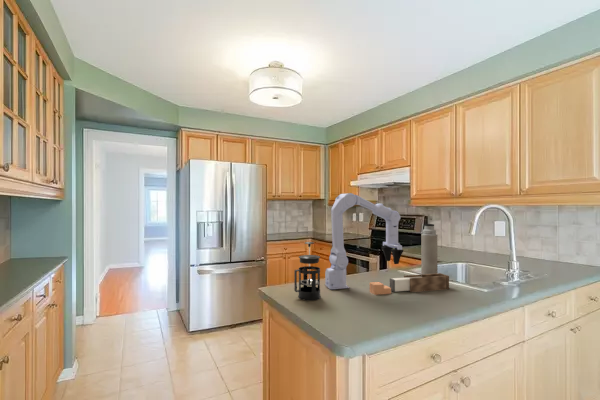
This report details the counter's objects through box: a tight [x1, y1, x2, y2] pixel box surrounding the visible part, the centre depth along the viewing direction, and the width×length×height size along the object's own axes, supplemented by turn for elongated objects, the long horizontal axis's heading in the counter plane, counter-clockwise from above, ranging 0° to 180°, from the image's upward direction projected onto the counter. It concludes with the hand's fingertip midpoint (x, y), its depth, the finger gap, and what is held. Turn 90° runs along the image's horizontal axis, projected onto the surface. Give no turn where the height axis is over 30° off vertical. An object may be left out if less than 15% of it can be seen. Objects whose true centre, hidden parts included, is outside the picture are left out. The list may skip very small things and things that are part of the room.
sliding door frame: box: [403, 272, 450, 293], centre depth 140 cm, size 20×6×6 cm, turn 104°
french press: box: [293, 241, 321, 302], centre depth 128 cm, size 12×9×23 cm
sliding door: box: [389, 277, 418, 293], centre depth 138 cm, size 16×3×5 cm, turn 104°
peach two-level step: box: [369, 281, 392, 296], centre depth 134 cm, size 8×4×4 cm, turn 104°
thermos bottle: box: [420, 223, 439, 274], centre depth 164 cm, size 8×8×28 cm
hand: (392, 262), depth 150 cm, fingers open, 7 cm apart
